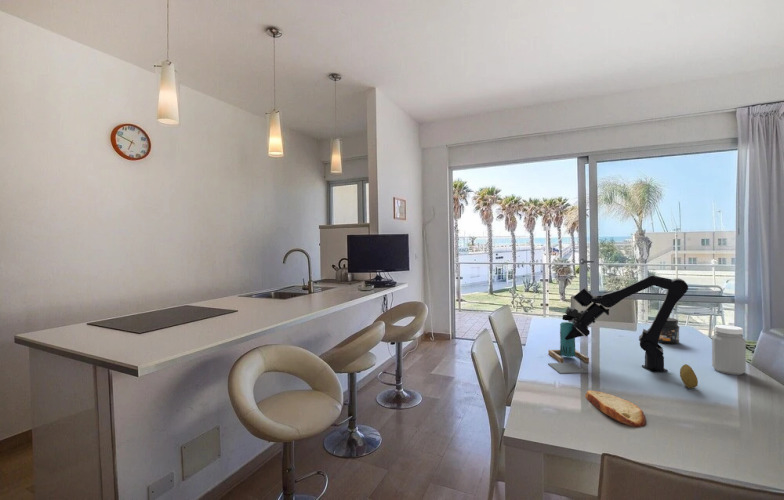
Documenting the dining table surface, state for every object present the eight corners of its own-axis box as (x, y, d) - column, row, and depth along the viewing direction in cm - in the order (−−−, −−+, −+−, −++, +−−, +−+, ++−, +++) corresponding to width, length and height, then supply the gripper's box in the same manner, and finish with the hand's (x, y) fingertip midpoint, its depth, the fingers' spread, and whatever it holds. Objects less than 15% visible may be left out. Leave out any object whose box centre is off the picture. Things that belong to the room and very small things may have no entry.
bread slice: (587, 393, 125) (587, 383, 125) (649, 408, 114) (649, 396, 114) (574, 413, 112) (574, 401, 112) (643, 431, 100) (643, 418, 100)
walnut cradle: (588, 362, 155) (588, 357, 155) (561, 363, 155) (560, 358, 155) (574, 353, 168) (574, 349, 168) (548, 354, 168) (548, 349, 168)
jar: (752, 376, 136) (752, 330, 135) (723, 375, 138) (723, 329, 137) (733, 367, 145) (733, 324, 145) (706, 366, 147) (706, 323, 147)
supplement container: (649, 340, 185) (649, 318, 185) (661, 338, 189) (660, 316, 189) (672, 345, 175) (672, 322, 175) (683, 342, 180) (683, 319, 180)
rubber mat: (586, 373, 143) (586, 371, 143) (560, 373, 143) (560, 372, 143) (573, 363, 154) (573, 362, 154) (548, 364, 154) (548, 363, 154)
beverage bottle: (572, 355, 165) (571, 313, 164) (578, 360, 158) (577, 316, 157) (557, 355, 165) (557, 313, 165) (563, 360, 159) (562, 316, 158)
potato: (693, 392, 123) (693, 370, 123) (670, 384, 130) (670, 363, 130) (707, 390, 125) (707, 367, 125) (684, 382, 132) (684, 361, 132)
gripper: (572, 298, 169) (548, 320, 172) (580, 305, 151) (553, 329, 155) (591, 315, 166) (566, 336, 170) (601, 324, 149) (573, 348, 152)
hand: (564, 337), depth 162 cm, fingers closed on beverage bottle, 6 cm apart
